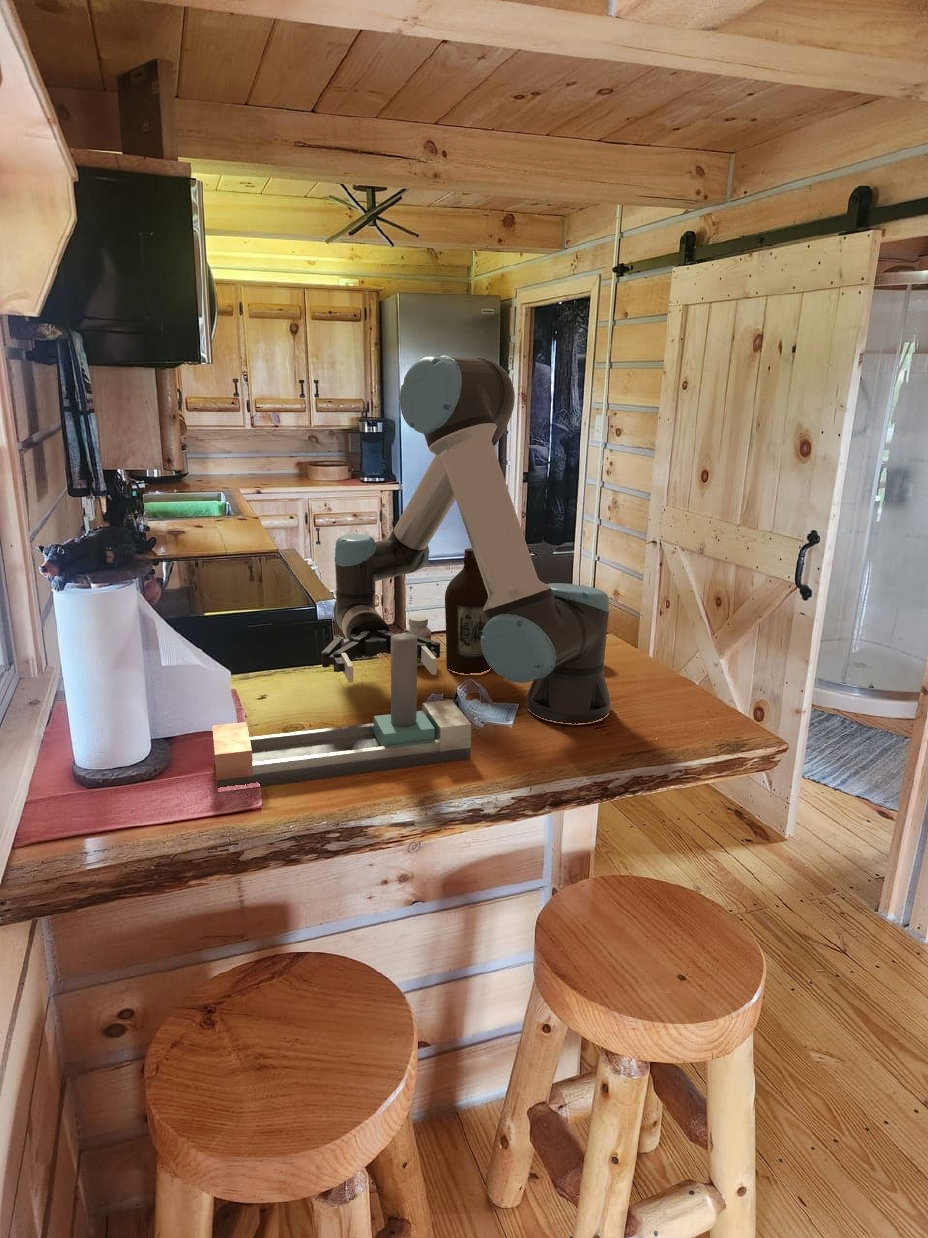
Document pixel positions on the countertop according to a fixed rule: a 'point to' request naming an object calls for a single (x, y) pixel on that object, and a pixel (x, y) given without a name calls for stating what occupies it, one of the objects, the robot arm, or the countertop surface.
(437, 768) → the countertop surface
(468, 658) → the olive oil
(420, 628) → the supplement bottle
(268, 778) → the rail track
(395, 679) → the carriage
